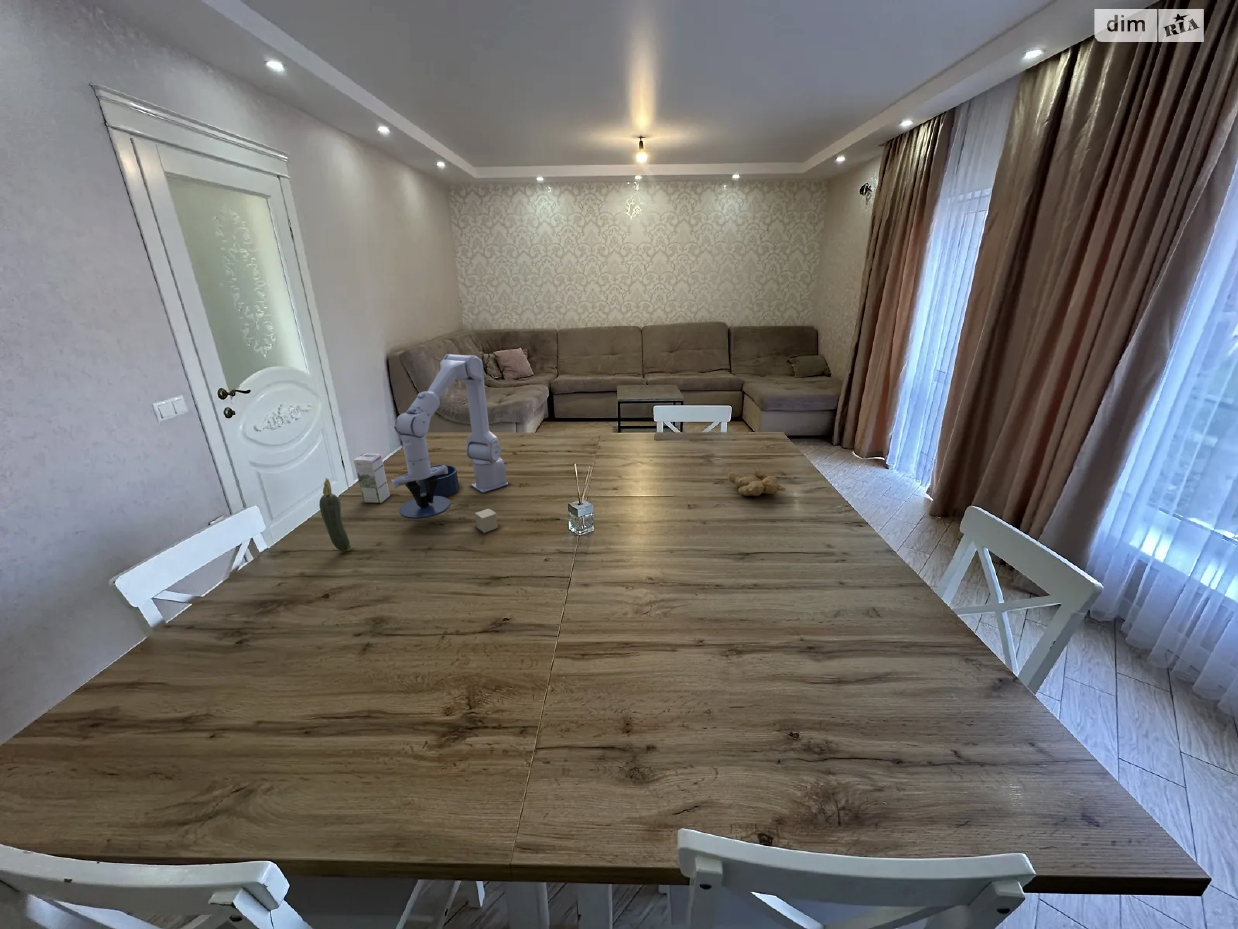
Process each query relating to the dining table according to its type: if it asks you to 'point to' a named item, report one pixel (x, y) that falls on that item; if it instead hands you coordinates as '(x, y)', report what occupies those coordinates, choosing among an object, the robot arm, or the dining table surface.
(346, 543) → the vegetable
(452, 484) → the pot
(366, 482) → the syrup box
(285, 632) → the dining table surface
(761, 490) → the ginger root
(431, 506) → the lid
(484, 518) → the block
